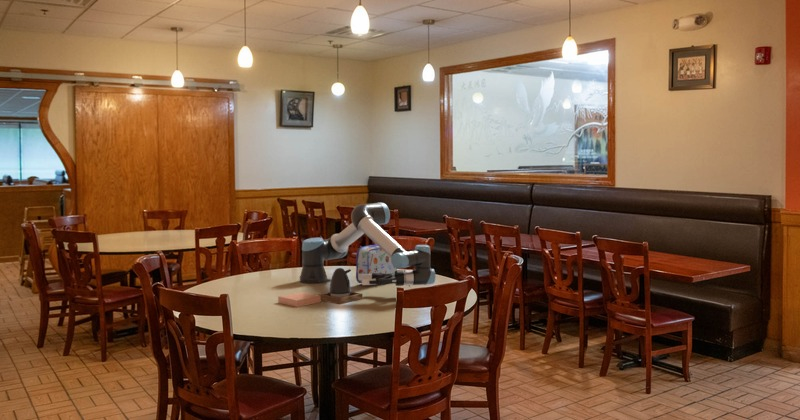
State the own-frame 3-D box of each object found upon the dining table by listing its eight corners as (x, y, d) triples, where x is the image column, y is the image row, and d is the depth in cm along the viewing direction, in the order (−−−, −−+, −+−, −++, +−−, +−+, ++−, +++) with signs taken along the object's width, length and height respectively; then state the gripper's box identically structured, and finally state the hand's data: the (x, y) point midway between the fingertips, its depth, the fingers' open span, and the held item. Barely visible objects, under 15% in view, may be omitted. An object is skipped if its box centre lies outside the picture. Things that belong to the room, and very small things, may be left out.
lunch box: (385, 278, 380) (385, 239, 379) (400, 279, 374) (400, 240, 372) (353, 285, 359) (353, 244, 357) (368, 287, 352) (368, 246, 351)
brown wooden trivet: (341, 294, 335) (341, 289, 335) (362, 298, 325) (362, 293, 325) (318, 299, 324) (318, 294, 324) (339, 304, 314) (339, 298, 314)
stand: (301, 297, 329) (301, 291, 329) (320, 301, 319) (320, 295, 319) (278, 302, 319) (278, 296, 318) (297, 306, 309) (297, 300, 309)
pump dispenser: (352, 301, 321) (351, 269, 319) (330, 301, 319) (329, 270, 318) (350, 296, 331) (349, 265, 329) (328, 297, 329) (328, 266, 328)
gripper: (408, 290, 318) (363, 292, 314) (398, 280, 342) (357, 282, 338) (408, 274, 317) (363, 276, 313) (398, 266, 342) (357, 267, 338)
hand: (360, 279), depth 326 cm, fingers open, 13 cm apart
